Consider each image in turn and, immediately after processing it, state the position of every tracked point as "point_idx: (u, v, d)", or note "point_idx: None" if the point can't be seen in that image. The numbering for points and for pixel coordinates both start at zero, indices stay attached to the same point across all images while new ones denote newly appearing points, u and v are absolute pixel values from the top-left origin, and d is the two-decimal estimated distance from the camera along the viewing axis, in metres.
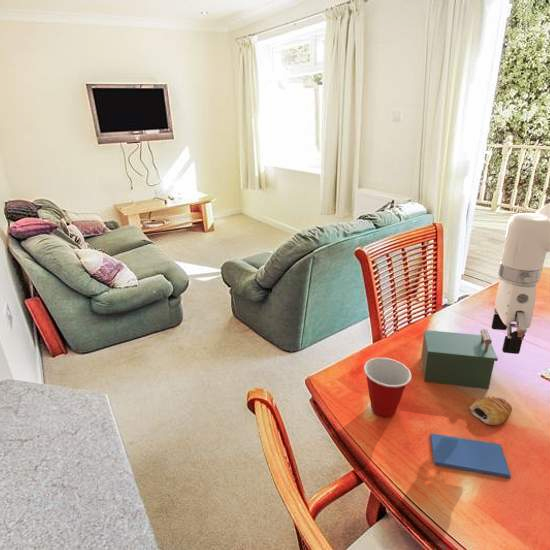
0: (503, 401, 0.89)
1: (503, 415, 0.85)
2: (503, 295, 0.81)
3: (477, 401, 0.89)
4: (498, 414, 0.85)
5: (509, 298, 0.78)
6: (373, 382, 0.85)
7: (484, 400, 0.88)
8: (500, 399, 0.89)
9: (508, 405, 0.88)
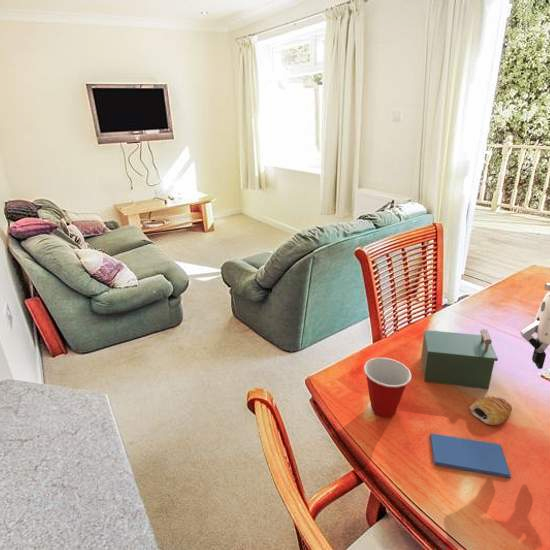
0: (503, 401, 0.89)
1: (503, 415, 0.85)
2: None
3: (477, 401, 0.89)
4: (498, 414, 0.85)
5: None
6: (373, 382, 0.85)
7: (484, 400, 0.88)
8: (500, 399, 0.89)
9: (508, 405, 0.88)
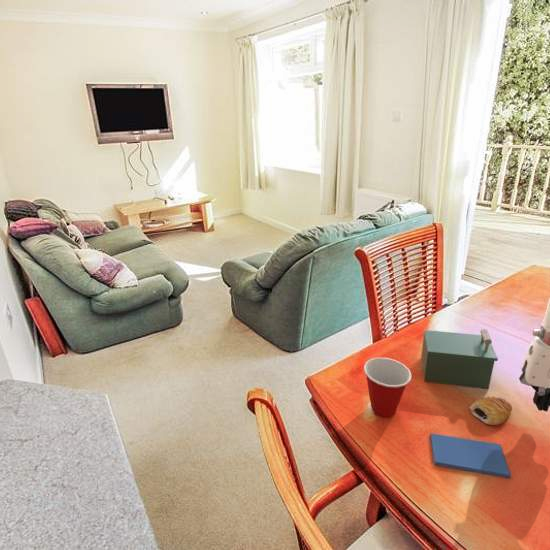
0: (503, 401, 0.89)
1: (503, 415, 0.85)
2: None
3: (477, 401, 0.89)
4: (498, 414, 0.85)
5: None
6: (373, 382, 0.85)
7: (484, 400, 0.88)
8: (500, 399, 0.89)
9: (508, 405, 0.88)
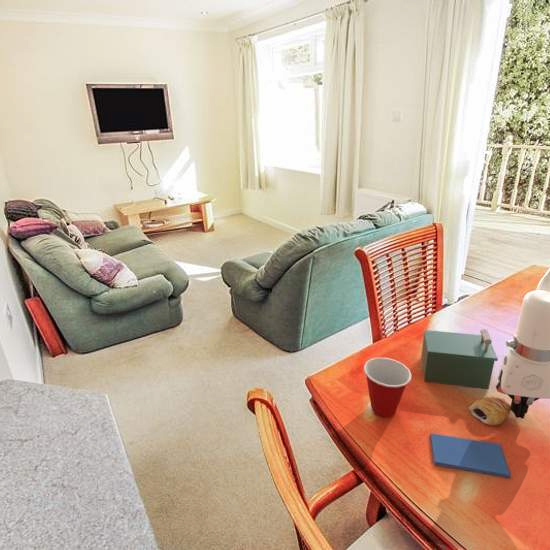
0: (502, 401, 0.89)
1: (502, 415, 0.85)
2: None
3: (476, 401, 0.89)
4: (498, 414, 0.85)
5: None
6: (373, 382, 0.85)
7: (483, 400, 0.88)
8: (499, 399, 0.89)
9: (507, 405, 0.88)
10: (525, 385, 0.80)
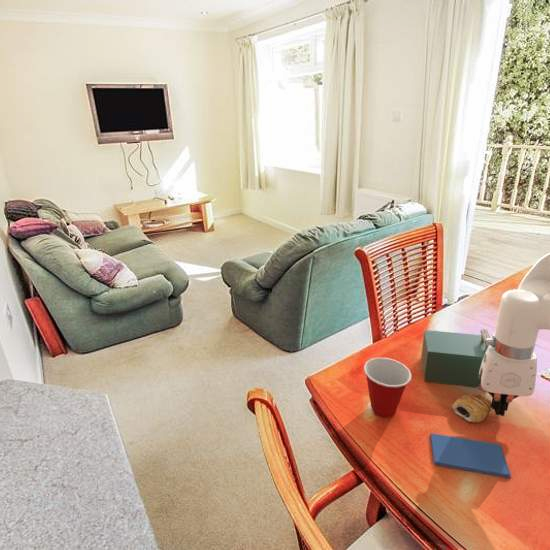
0: (483, 398, 0.90)
1: (484, 412, 0.86)
2: None
3: (459, 399, 0.89)
4: (480, 411, 0.86)
5: None
6: (373, 382, 0.85)
7: (465, 398, 0.89)
8: (480, 396, 0.91)
9: (488, 401, 0.89)
10: (504, 383, 0.82)
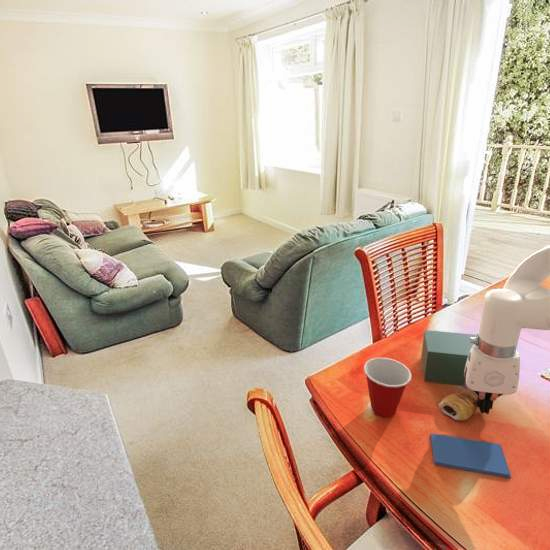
0: (469, 396, 0.91)
1: (470, 410, 0.87)
2: None
3: (445, 398, 0.90)
4: (466, 409, 0.87)
5: None
6: (373, 382, 0.85)
7: (452, 397, 0.90)
8: (466, 394, 0.91)
9: (474, 399, 0.90)
10: (488, 381, 0.82)
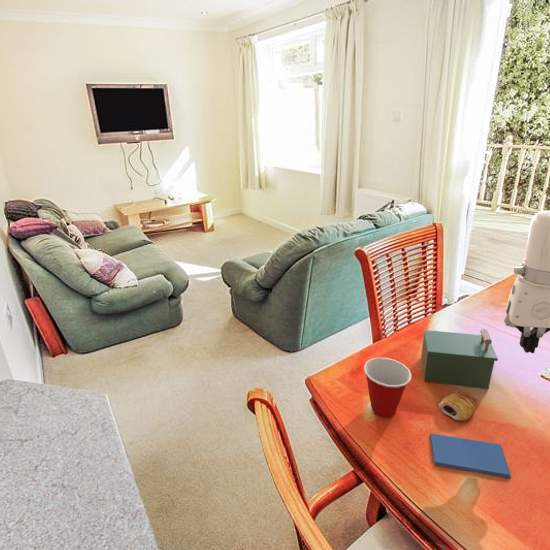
0: (469, 395, 0.91)
1: (470, 410, 0.87)
2: None
3: (445, 398, 0.90)
4: (466, 409, 0.87)
5: None
6: (373, 382, 0.85)
7: (452, 396, 0.90)
8: (466, 394, 0.91)
9: (474, 399, 0.90)
10: (535, 314, 0.76)
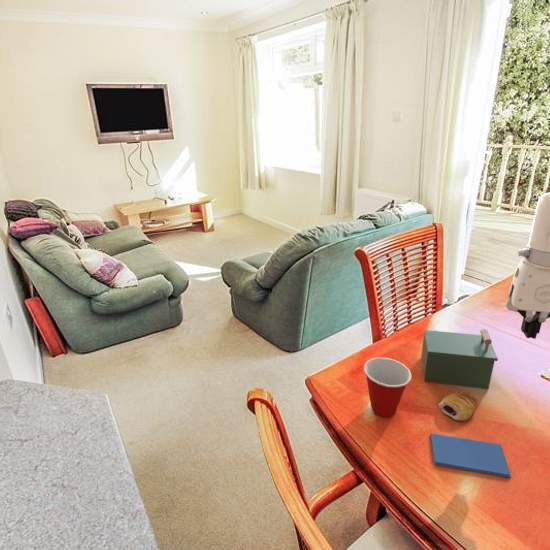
0: (469, 395, 0.91)
1: (470, 410, 0.87)
2: None
3: (445, 398, 0.90)
4: (466, 409, 0.87)
5: None
6: (373, 382, 0.85)
7: (452, 396, 0.90)
8: (466, 394, 0.91)
9: (474, 399, 0.90)
10: (538, 297, 0.75)
